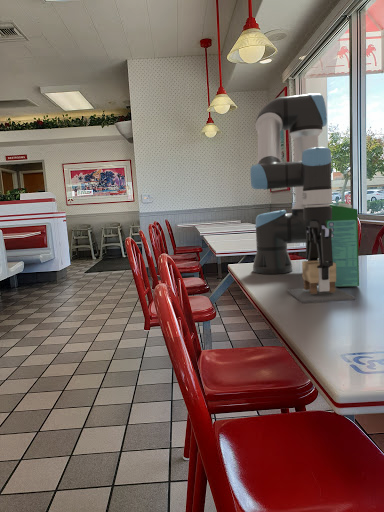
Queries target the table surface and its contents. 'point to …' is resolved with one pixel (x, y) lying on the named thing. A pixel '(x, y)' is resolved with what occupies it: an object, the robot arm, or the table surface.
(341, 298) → the mat
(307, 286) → the footstool
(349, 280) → the milk carton
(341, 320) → the table surface
